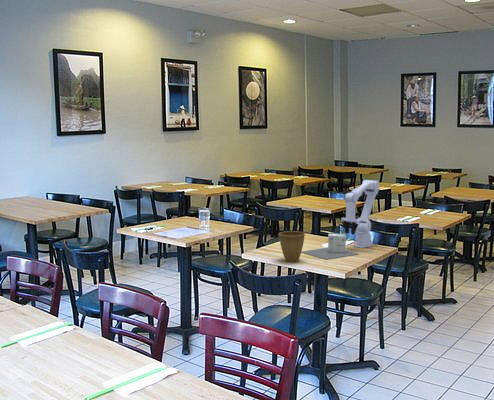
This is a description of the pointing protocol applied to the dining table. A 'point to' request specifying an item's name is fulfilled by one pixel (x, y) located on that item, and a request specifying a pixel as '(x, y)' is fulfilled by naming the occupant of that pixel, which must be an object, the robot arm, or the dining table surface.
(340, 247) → the light bulb box
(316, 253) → the mat
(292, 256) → the plant pot
